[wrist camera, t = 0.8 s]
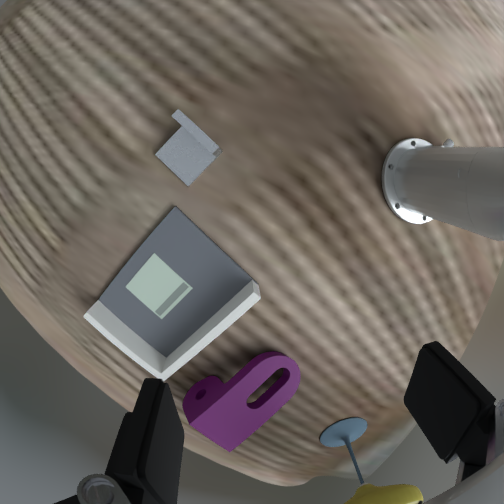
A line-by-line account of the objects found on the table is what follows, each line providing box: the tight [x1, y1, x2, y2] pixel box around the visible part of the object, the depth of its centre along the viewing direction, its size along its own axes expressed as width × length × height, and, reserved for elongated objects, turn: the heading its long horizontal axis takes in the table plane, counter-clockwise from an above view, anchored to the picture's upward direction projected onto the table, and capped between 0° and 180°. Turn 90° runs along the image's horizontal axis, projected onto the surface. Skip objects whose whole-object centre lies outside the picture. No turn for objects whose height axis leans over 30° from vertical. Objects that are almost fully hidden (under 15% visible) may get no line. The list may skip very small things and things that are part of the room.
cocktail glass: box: [320, 417, 423, 504], centre depth 37 cm, size 18×18×25 cm
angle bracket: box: [155, 109, 223, 186], centre depth 30 cm, size 6×6×7 cm
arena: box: [84, 206, 261, 381], centre depth 36 cm, size 20×15×5 cm
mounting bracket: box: [182, 351, 300, 452], centre depth 41 cm, size 9×8×18 cm
